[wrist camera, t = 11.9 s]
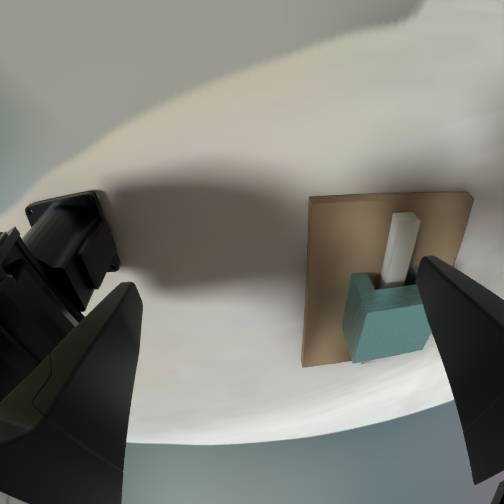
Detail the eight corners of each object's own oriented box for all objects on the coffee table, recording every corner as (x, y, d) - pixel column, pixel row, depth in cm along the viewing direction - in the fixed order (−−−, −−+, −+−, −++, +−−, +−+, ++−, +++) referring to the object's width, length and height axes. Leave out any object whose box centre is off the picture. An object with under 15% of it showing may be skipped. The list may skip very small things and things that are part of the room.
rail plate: (301, 359, 30) (304, 377, 29) (309, 197, 20) (316, 213, 18) (414, 340, 30) (421, 356, 28) (467, 192, 20) (482, 206, 18)
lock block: (341, 325, 26) (352, 363, 23) (351, 273, 22) (367, 313, 19) (406, 315, 26) (422, 349, 23) (424, 265, 22) (446, 299, 19)
